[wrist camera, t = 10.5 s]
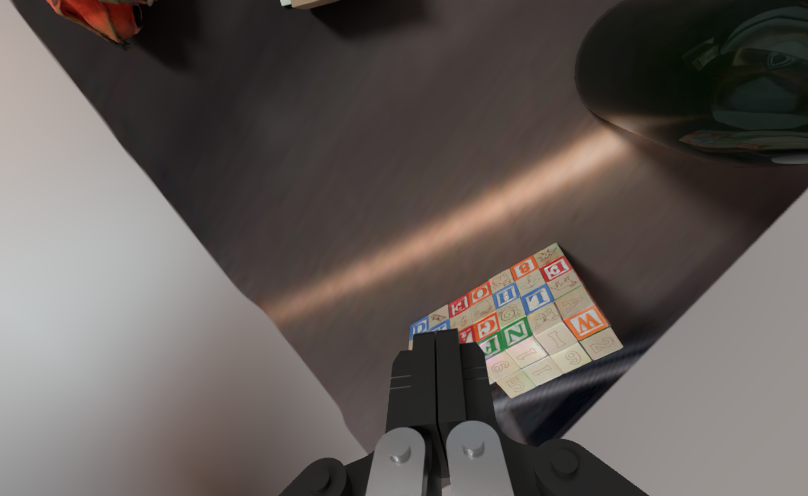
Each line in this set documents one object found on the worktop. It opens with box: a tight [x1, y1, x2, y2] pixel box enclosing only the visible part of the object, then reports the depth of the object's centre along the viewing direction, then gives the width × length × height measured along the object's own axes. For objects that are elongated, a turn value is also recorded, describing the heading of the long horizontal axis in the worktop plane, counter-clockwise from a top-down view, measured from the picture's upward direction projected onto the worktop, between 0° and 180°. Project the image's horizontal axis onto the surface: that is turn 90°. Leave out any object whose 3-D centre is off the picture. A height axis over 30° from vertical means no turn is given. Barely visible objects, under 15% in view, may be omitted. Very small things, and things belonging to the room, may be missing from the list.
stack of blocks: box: [409, 243, 623, 398], centre depth 45 cm, size 21×6×12 cm, turn 128°
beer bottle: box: [575, 0, 808, 168], centre depth 22 cm, size 10×10×33 cm
